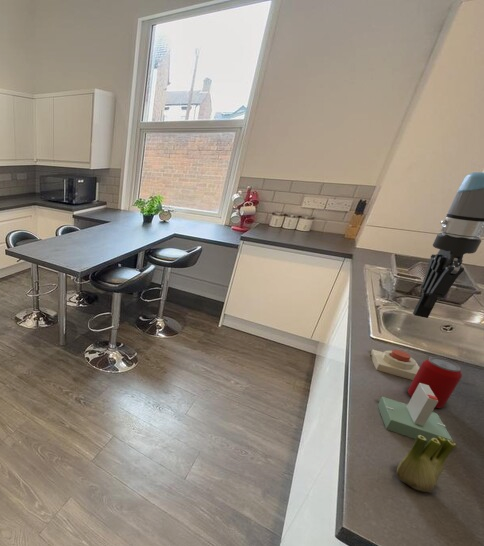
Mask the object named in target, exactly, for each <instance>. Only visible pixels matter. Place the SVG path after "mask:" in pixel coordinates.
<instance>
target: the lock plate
mask: <svg viewBox="0 0 484 546" xmlns="http://www.w3.org/2000/svg"><path fill="white" fill-rule="evenodd" d="M407 405H408V403H404V402H401V401H399V400H395V399H391V398H388V397H385V396H381V397H380V400H379V401H378V404H377V407H378V410H379V413H380V415H381V418H382V422H383V423H384V427H385V429H386V431H387V430H388V431H391V432H393V433H396V434H399V435H401V436H404V437H408V438H411V439H413V440H416V438H417V436H418V435H422V436H423V437H425V438H426V439H427V442H426V444H427V443H428V442H429V441H430V440H431V439H432V438H436V439H437V437H438V436H440V437H442V438H445V440H451V441H453V438H452V437H451V434H450V433H449V431H448V430H447V426H446V425H445V424H444V423H443V420H442V419H441V417H440V416H439V415H438V413H436V412H434V411H432V413H431V415H430V416H429V418H428V420H427V421H426V423H425V425H424V426H421V425H418V424H415V423H414V422H413V420H412V417H411V415H410V413H409V411H408V409H407ZM453 442H454V441H453Z"/></svg>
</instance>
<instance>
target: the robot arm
mask: <svg viewBox="0 0 484 546" xmlns="http://www.w3.org/2000/svg"><path fill="white" fill-rule="evenodd" d="M440 224H441V226H440V229H439V231H440V233H437V235H436V237H435V238H434V241H433V244H432V247H433V248H435V249H437V250H438V252H437V253H436V254H434V253H433V254H431V255H430V259H429V263H428V266H427V269H426V272H425V274H424V277H423V281H422V282H421V285H420V288H421V289H422V290H421V291H422V292H421V295H420V297H419V299H418V301H417V304H416V305H415V308H414V309H413V312H412V314H413V316H415V317H419V318H425V319H429V316H430V315H431V313H432V310H433V309H434V307H435V305H436V303H437V301H438V299H444V298H445V297H446V295H447V293H448V292H449V291H450V289H451V288H452V286H453V285H454V283H455V282H456V280H457V279H458V278H459V276H460V275H461V274H462V273H463V272H464V271H465V267H462V266H461V265H462V264H463V260H464V259H463V258H464V255H467V254H469V255H471V254H475V253H477V251H478V249H479V247H480V246H481V243H482V239H481V238H483V237H484V171H482V172H481V171H479V172H477V171H476V172H471V173H468V174H466V176H464V178H463V180H462V182H461V184H460V186H459V187H458V190H457V191H456V193H455V196H454V198H453V200H452V202H451V204H450V207H449V209H448V211H447V213H446V216H445V218H444V220H440Z"/></svg>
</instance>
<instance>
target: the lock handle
mask: <svg viewBox="0 0 484 546" xmlns="http://www.w3.org/2000/svg"><path fill="white" fill-rule="evenodd" d="M437 403H438V399H437V397H436V396H435V395H434V393H433V392H432V390H431V388H430V387H429V385H426V384H422V383H419V385H418V387H417V388H416V390H415V392H414V394H413V396H412V397H411V398H410V399H409V402H407V404H408V405H407V409H408V411H409V413H410V415H411V417H412V420H413V422H414V423H415V424H418V425H421V426H424V425H425V423H426V421H427V420H428V418H429V416H430V415H431V413H432V412H434V409H436V407H435V406H436V404H437Z"/></svg>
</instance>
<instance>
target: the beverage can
mask: <svg viewBox="0 0 484 546" xmlns="http://www.w3.org/2000/svg"><path fill="white" fill-rule="evenodd" d="M419 367H420V368H419V370H418V372H417V374H416V376H415V377H414V379H413V380H412V381H411V383H410V385H409V386H408V387H409V388H408V389H407V393H408V395H409V396H410V397H411V398H412V396H413V394H414V392H415V390H416V388H417V387H418V385H419V383H422V384H426V385H429V387H430V388H431V390H432V392H433V393H434V395H435V396H436V397H437V399H438V403H437V404H436V406H435V409H436V408H439V409H440V408H444V406H445V405H446V403H447V402H448V400H449V398H450V397H451V396H452V394H453V392H454V390H455V388H456V387H457V386H458V384H459V382H460V380H461V378H462V376H463V375H462V374H463V373H462V371H461V370H462V369H461V367H460V366H459V365H458V364H457V363H455V362H453V361H451V360H448V359H446V358H441V357H438V356H431V357H429V358H428V359H426V360H423V361H422V363H421V364H420V366H419Z"/></svg>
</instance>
